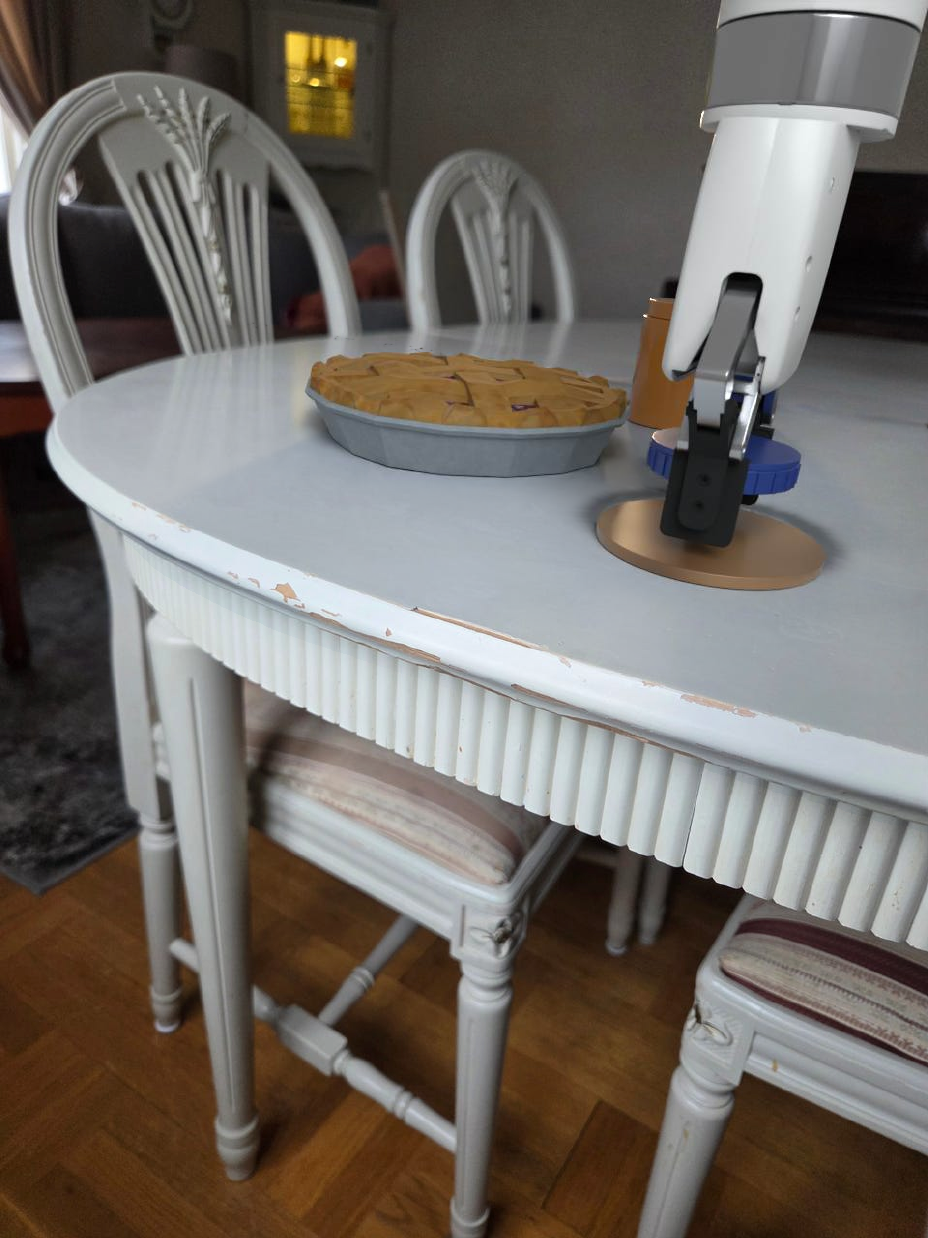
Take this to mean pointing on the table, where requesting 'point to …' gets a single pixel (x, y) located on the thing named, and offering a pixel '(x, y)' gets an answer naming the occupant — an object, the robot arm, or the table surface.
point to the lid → (769, 458)
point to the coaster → (713, 549)
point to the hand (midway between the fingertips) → (711, 515)
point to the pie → (466, 413)
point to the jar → (657, 374)
